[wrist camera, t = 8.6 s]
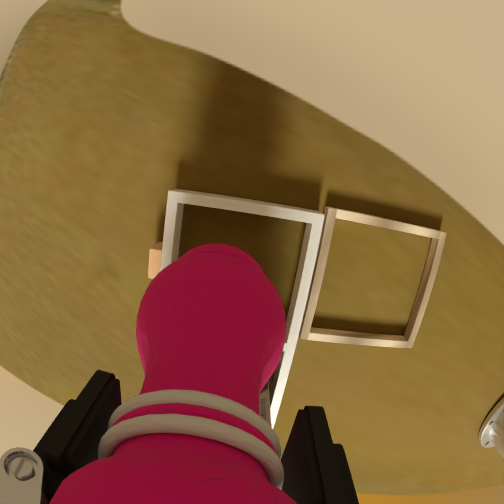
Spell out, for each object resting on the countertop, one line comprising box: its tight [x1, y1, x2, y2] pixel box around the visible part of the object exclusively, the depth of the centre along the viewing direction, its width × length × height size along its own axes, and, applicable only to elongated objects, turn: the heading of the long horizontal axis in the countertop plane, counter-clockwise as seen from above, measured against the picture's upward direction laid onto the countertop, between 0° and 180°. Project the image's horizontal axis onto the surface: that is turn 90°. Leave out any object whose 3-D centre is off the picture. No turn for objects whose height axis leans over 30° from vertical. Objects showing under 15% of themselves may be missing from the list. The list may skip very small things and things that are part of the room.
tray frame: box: [299, 206, 446, 348], centre depth 27 cm, size 11×11×1 cm
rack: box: [148, 189, 325, 429], centre depth 27 cm, size 13×22×2 cm, turn 171°
